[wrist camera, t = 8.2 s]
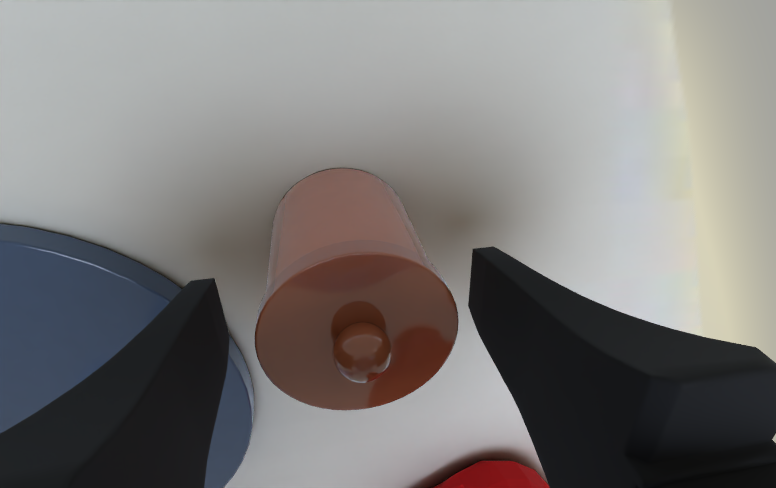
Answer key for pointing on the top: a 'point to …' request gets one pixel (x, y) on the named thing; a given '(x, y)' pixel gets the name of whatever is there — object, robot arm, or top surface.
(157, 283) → the plate
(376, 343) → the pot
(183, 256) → the top surface
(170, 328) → the robot arm
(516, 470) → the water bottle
